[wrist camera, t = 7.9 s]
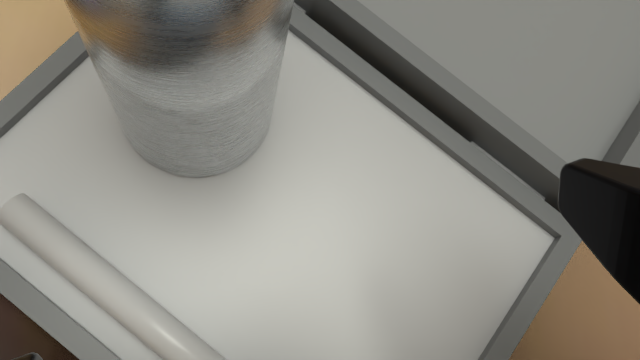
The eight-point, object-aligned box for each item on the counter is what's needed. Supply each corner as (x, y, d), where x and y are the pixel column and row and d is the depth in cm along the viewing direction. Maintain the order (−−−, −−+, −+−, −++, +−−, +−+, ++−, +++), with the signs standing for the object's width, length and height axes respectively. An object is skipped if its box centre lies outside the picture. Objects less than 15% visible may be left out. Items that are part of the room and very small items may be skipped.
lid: (568, 226, 20) (608, 212, 18) (349, 572, 16) (367, 606, 14) (208, -55, 21) (206, -100, 19) (-80, 213, 17) (-123, 195, 15)
